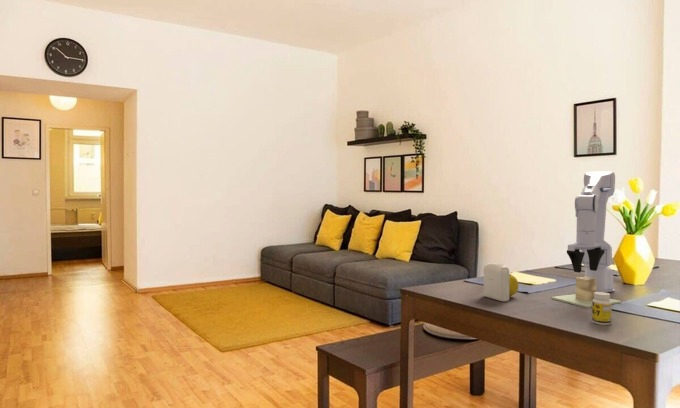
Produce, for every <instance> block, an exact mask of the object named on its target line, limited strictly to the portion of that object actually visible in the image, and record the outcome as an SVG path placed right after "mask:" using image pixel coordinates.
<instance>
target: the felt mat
mask: <svg viewBox="0 0 680 408" xmlns="http://www.w3.org/2000/svg"><path fill="white" fill-rule="evenodd" d="M551 300H555V301H559V302H563V303H567V304H571V305H574V306H578V307H582V308H586V309H588V308H589V309H590V308H592V301H593V300H590V301H585V300H581V299H577V298H576V293H573V294H564V295H558V296H557V295H555V296H551ZM609 300H610V301H611V305H616V304H622V301H621V300H618V299H614V298H610V299H609Z"/></svg>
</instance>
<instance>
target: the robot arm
mask: <svg viewBox="0 0 680 408" xmlns="http://www.w3.org/2000/svg"><path fill="white" fill-rule="evenodd" d="M583 186H584V187H583V188H582V190H581V193H580V194H578V195H577V196H575V197H574V210H575V217H576V235H575V236H576V242H574V243H570V244H567V250H566V254H567V255H568V257H569V259H570V262H571V266H572V269H573V272H574V273H581V272H582V266H583V267H584V277H590V278H595V279H597V281H596V292H605V293H609V292H610V293H611V292H616V289H615V288H614V271H613V270H612V268H611V265H612V263H613V247H612V245H611V244H610V243H609V242H607V241H606V240H605V232H606V231H605V230H606V219H607V218H606V216H607V203H608V201H609V198H610V197H612V196H614V193H615V189H616V188H615V187H616V175H615V172H614V171H613V170H612V171H585V173H584V175H583Z"/></svg>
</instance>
